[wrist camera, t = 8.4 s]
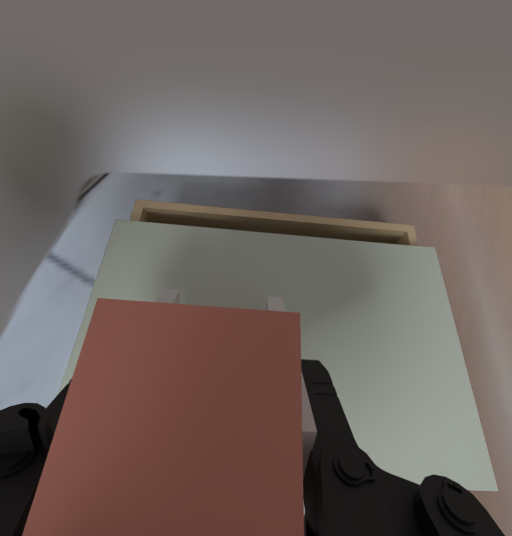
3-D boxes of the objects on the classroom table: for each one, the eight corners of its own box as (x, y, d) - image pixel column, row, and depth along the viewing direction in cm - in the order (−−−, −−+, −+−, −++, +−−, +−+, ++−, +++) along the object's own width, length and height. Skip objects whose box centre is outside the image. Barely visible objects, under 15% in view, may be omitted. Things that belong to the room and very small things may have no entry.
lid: (43, 467, 11) (-633, 783, 2) (120, 225, 17) (-12, 48, 8) (484, 485, 12) (1108, 750, 4) (427, 252, 18) (624, 124, 9)
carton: (124, 387, 18) (78, 390, 13) (159, 241, 23) (136, 199, 18) (393, 402, 19) (456, 411, 14) (372, 260, 24) (413, 225, 19)
